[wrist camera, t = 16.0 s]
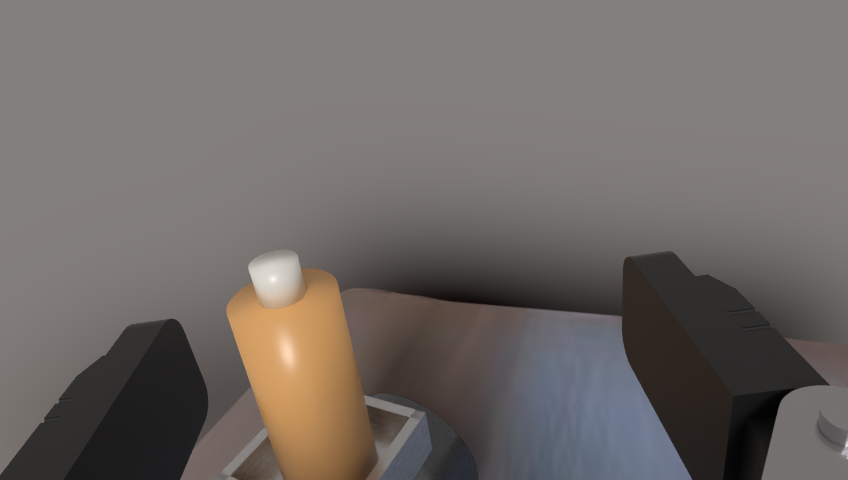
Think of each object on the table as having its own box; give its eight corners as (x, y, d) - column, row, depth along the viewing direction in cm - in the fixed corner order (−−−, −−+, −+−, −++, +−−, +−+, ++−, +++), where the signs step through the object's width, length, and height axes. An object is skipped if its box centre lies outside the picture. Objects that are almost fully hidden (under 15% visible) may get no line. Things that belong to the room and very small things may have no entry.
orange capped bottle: (321, 422, 38) (267, 231, 32) (395, 444, 35) (351, 240, 29) (264, 488, 34) (189, 282, 28) (343, 519, 31) (279, 299, 25)
